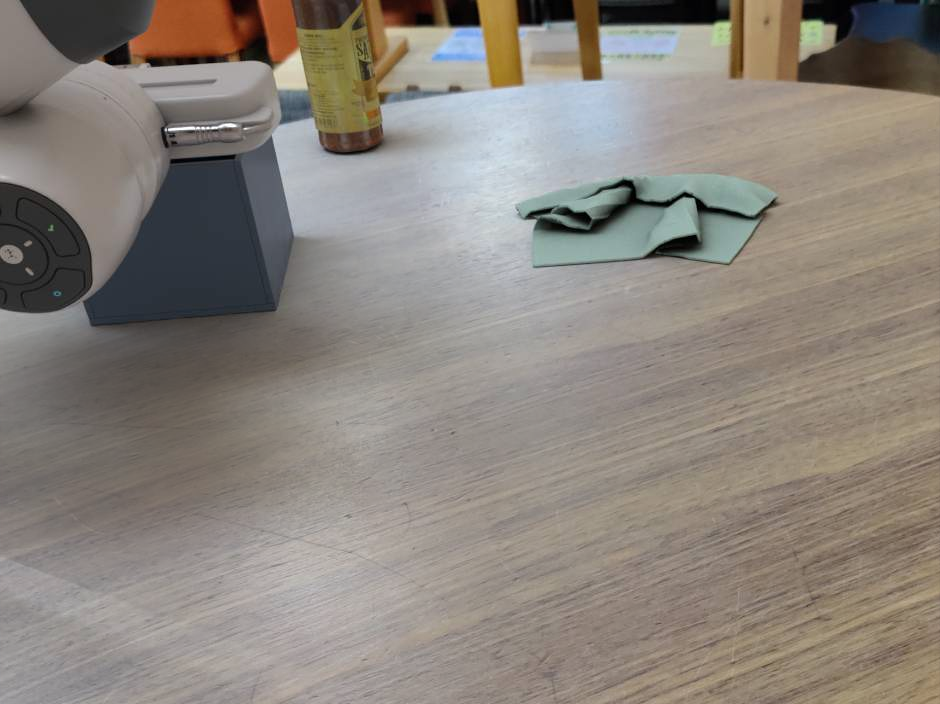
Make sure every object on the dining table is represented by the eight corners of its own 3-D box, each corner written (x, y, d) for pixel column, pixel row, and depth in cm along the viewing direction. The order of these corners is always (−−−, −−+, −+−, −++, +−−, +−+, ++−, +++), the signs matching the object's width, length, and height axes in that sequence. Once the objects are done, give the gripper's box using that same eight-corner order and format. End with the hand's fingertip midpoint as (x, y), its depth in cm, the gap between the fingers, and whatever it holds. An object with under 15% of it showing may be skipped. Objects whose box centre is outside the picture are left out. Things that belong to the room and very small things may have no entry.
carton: (276, 310, 86) (237, 148, 79) (90, 325, 85) (33, 163, 78) (294, 235, 97) (261, 87, 90) (129, 248, 96) (82, 99, 89)
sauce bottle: (389, 150, 112) (349, -97, 99) (321, 158, 111) (272, -90, 98) (382, 129, 117) (343, -109, 104) (317, 137, 116) (269, -103, 103)
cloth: (806, 194, 100) (808, 164, 99) (691, 298, 86) (691, 265, 84) (593, 162, 108) (591, 134, 106) (454, 252, 93) (450, 221, 92)
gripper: (256, 74, 68) (280, 15, 78) (-122, 99, 66) (-45, 35, 77) (281, 187, 72) (301, 116, 82) (-74, 213, 70) (-8, 137, 81)
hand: (131, 77), depth 80 cm, fingers closed
